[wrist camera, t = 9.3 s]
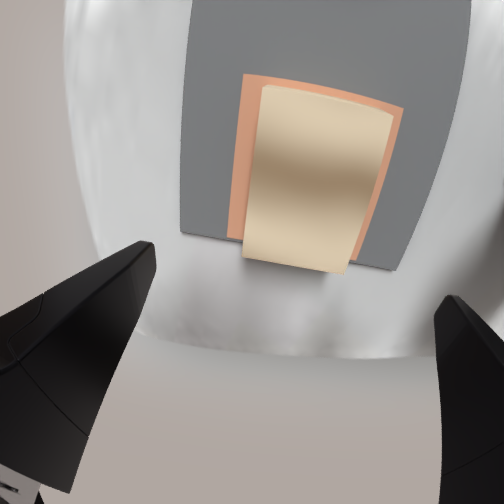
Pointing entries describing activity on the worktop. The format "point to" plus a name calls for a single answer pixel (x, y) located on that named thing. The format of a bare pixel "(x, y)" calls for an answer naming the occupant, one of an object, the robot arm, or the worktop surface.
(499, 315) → the worktop surface
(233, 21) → the mat
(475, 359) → the robot arm
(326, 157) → the card box
